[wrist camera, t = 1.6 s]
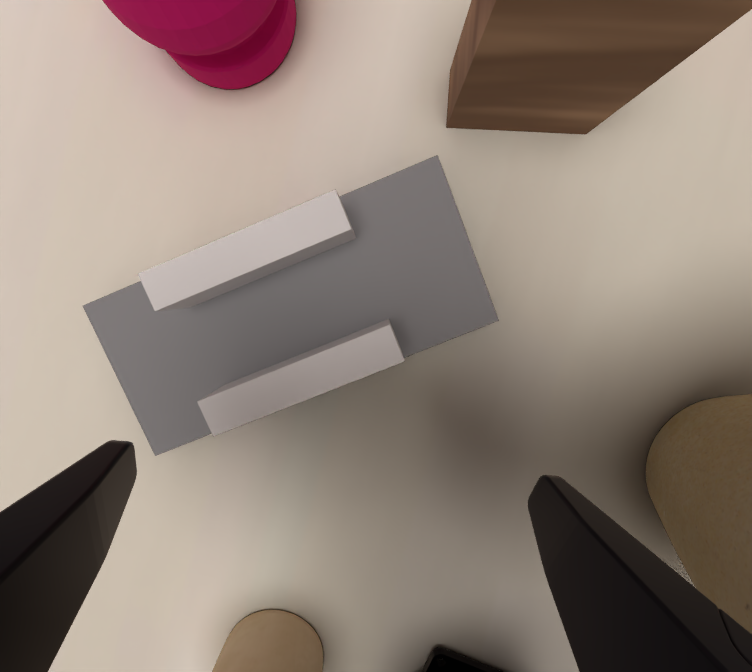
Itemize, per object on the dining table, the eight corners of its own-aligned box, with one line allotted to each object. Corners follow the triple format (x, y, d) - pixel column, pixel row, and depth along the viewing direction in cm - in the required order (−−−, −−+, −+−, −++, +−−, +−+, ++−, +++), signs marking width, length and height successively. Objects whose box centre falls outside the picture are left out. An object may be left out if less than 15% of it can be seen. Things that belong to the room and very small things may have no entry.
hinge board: (493, 318, 20) (520, 326, 16) (166, 447, 21) (115, 485, 17) (434, 161, 19) (448, 129, 15) (97, 304, 20) (27, 309, 16)
